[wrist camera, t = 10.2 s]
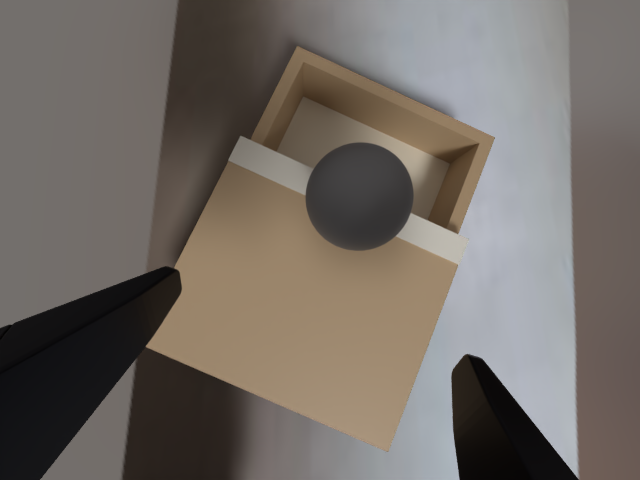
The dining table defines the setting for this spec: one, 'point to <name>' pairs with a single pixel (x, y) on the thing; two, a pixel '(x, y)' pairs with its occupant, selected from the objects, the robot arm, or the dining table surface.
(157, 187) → the dining table surface
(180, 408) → the dining table surface
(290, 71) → the wooden box
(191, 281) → the lid
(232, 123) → the dining table surface
